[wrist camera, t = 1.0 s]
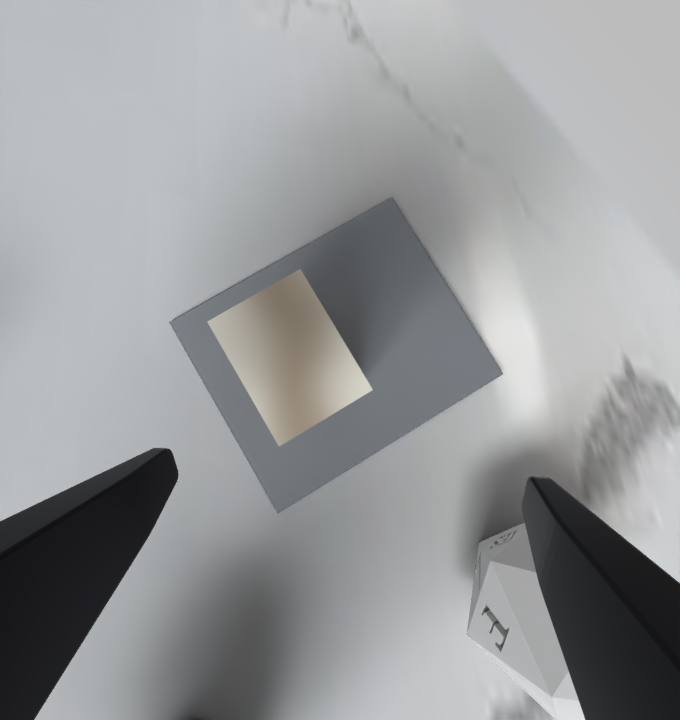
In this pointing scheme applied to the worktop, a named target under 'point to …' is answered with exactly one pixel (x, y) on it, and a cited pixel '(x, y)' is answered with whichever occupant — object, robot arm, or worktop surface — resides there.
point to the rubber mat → (352, 351)
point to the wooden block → (289, 357)
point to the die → (519, 623)
